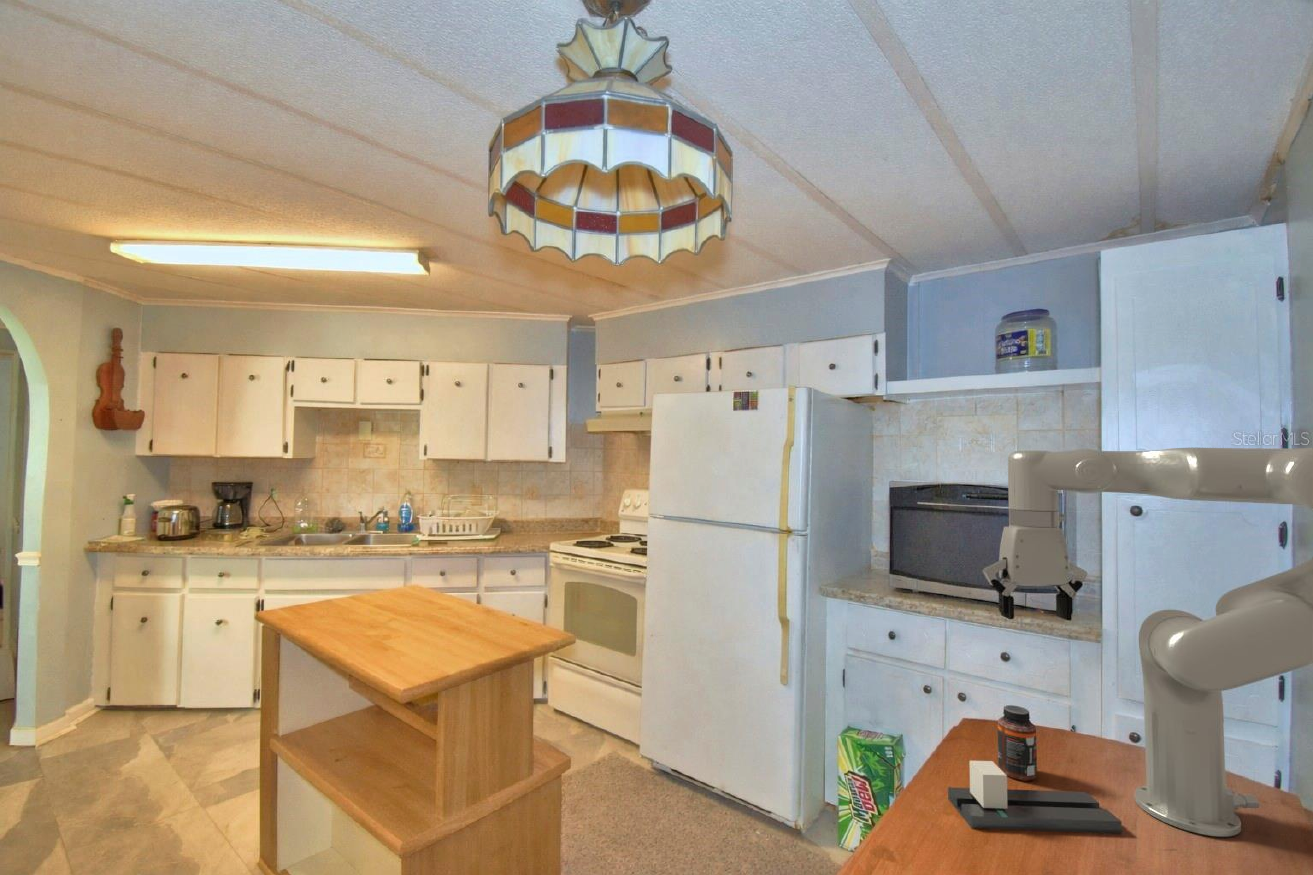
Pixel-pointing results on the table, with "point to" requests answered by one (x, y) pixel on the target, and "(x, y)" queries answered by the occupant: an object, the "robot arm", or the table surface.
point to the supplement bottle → (1017, 744)
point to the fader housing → (1037, 812)
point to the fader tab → (988, 784)
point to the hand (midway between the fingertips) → (1035, 617)
